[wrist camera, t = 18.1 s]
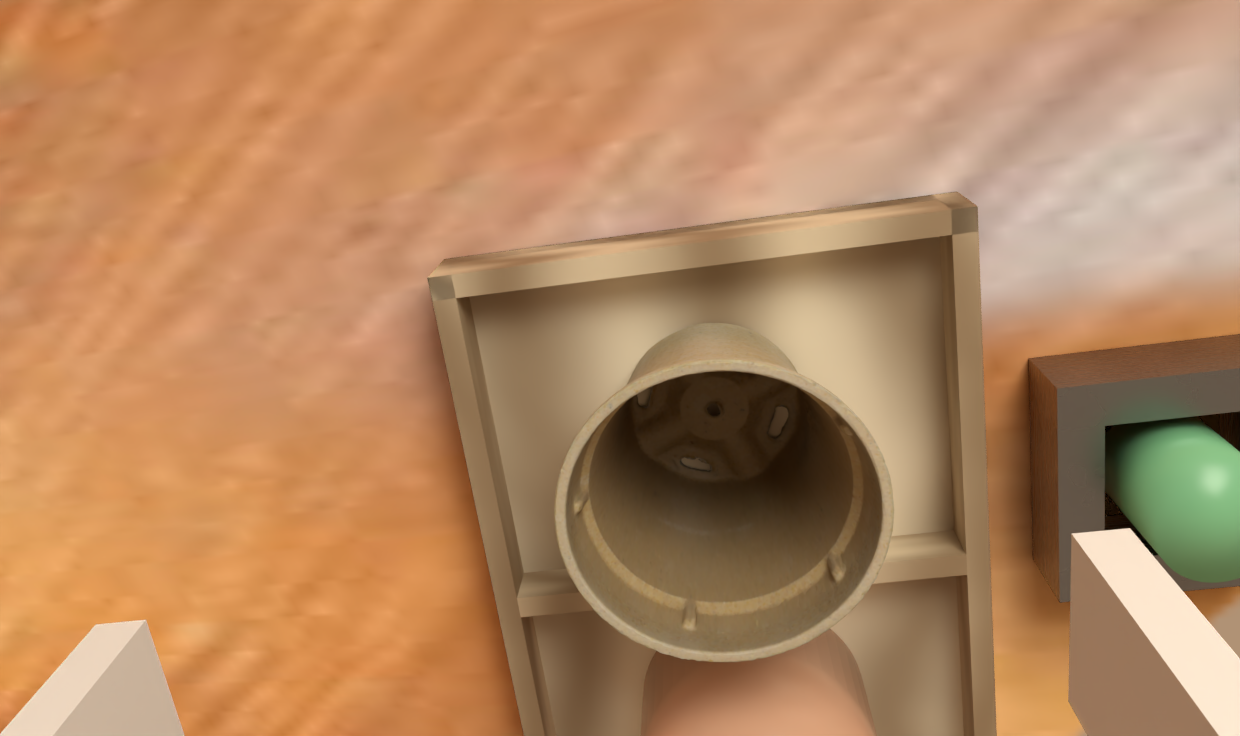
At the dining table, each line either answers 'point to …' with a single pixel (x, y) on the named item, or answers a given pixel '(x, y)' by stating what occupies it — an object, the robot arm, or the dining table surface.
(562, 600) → the wooden serving tray
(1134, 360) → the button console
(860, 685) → the taupe pillar candle
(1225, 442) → the button
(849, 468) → the flower pot
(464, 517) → the dining table surface
